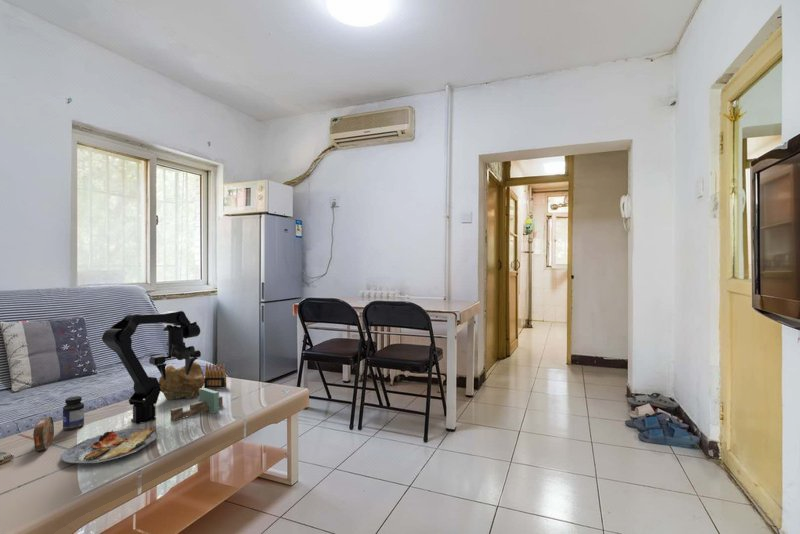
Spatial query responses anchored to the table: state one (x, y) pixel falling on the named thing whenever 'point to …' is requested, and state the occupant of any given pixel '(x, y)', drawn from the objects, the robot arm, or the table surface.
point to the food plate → (110, 445)
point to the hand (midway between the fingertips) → (176, 377)
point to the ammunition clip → (215, 376)
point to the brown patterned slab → (43, 434)
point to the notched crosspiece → (210, 399)
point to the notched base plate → (192, 409)
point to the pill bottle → (73, 413)
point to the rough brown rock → (182, 382)
